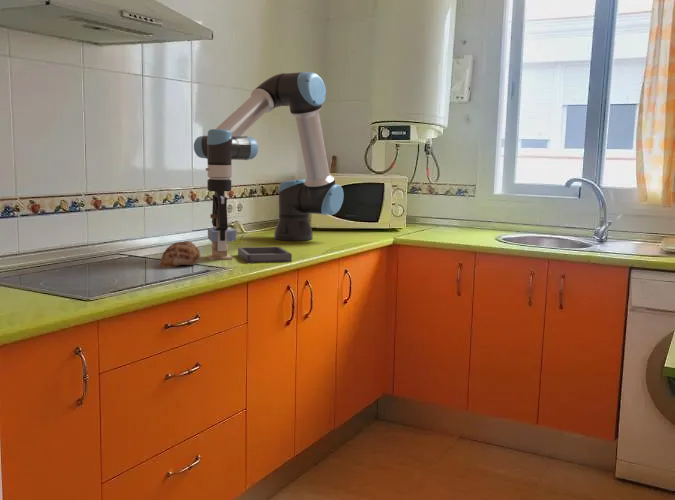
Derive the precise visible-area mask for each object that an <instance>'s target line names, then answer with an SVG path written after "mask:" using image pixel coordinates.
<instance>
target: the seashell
mask: <svg viewBox="0 0 675 500" xmlns="http://www.w3.org/2000/svg"><path fill="white" fill-rule="evenodd" d="M200 259H201V252H200V249H199V248H198V247H197V246H196V245H195V244H194V243H193V242H192V241H189V240H188V241H187V240H185V241H179V242H178V241H177V242H175V243H173V244H171V245H169V246H168V247H167V248H166V249H165V250H164V252H163V254H162V256H161V260H160V261H161V262H160V263H159V266H160V267H165V268H175V267H178V266H181V265H183V266H184V265H186V266H194V265H196V264H198V263H199V261H200Z"/></svg>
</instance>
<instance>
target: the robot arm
mask: <svg viewBox="0 0 675 500" xmlns="http://www.w3.org/2000/svg"><path fill="white" fill-rule="evenodd" d="M250 94H251V95H250V97H249V98H248V99H247V100H245V101H244V102H243V103H242V104H241V105H240V106H239V107H237V109H236V110H235V111H233V112H232V113H231V114H230V115H228V117H227V118H225V120H224V121H222V122H221V123H220V124H219V125H218V126H217V127H216V128H212V129H208V131H207V135H202V136H198V137H197V138H195V140H194V142H193V150H194V153H195V155H196V156H197V157H198V158H201V159H207V167H205V171H206V172H207V178H208V179H207V182H206V183H207V191H208V192H214V194H212V197H211V198H212V210H211V211H212V212H211V214H217V218H218V228H216V218H211V224H212V228H216V231H217V230H218V251H227V252H228V242H227V229H229V226H228V205H227V204H228V203H227V202H228V201H227V200H228V198H227V196H226V195H225V192H231V191H232V175H233V171H232V169H233V168H232V160H233V161H234V160H237V161H238V160H239V161H240V160H241V161H248V160H249V161H250V160H253V159H254V158H255V157H257V155H258V152H259V145H258V142H257V140H256V139H255V138H254V137H252V136H247V135H246V136H245V135H244V136H242V135H243V134H244V133H246V131H247V130H249V128H251V127H252V126H253V125H254V124H255V123H256V122H257V121H258V120H259V119H261V118H262V116H264V114H265V113H270V112H272V111H273V110H274V109H275V108H278V107H279V108H280V107H289V112H290V115H292V116H294V117H295V121H296V125H297V126H296V127H297V130H298V131H297V132H298V135H299V142H300V145H301V146H300V147H301V151H302V157H303V162H304V167H305V172H306V179H294V180H284V181H282V182H280V184H279V189H278V190H279V191H278V222H277V224H276V228H275V230H274V234H273V235H274V237H273V238H274V239H275V240H278V241H296V242H297V241H299V242H300V241H301V242H302V241H309V240H310V241H311V240H313V235H314V234H313V231H312V227H311V224H310V219H309V214H312V215H313V214H314V215H322V216H328V215H333V216H334V215H336V214H337V213H338V212H339V211H340V209H341V208H342V205H343V203H344V198H345V197H344V195H345V194H344V189H343V187H342V186H341V185H340V184H338V183H336V179H335V177H334V176H333V175H332V174H330V173H331V172H330V168H329V163H328V157H327V152H326V146H325V141H324V135H323V127H322V124H321V117H320V111H321V110H322V109H323V106H322V105H323V103H324V102H325V101H326V96H327V88H326V85H325V82H324V81H323V78H322V77H321V76H319V75H318V74H317V73H316V72H307V71H301V72H290V73H289V72H288V73H286V72H285V73H284V72H283V73H282V72H281V73H279V74H275V75H273V76H270V77H269V78H268V79H266V80H264V81H263V82H262V83H260V84H258V86H257V87H255V88H254V89H253V90H252V91H251V93H250Z"/></svg>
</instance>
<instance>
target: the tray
mask: <svg viewBox="0 0 675 500" xmlns="http://www.w3.org/2000/svg"><path fill="white" fill-rule="evenodd" d="M292 254H293V253H291V252H290V251H288V250H285V249H284V248H282V247H281V246H257V247H256V246H253V247H250V246H249V247H244V246H243V247H237V255H238V257H240V259H241V260H243V261H244V262H246V263H247V264H258V263H257V262H265V263H288V262H289V263H291V262H292V256H293V255H292Z"/></svg>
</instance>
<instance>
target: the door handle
mask: <svg viewBox="0 0 675 500" xmlns="http://www.w3.org/2000/svg"><path fill="white" fill-rule="evenodd" d="M212 218H216V228H218V218H217V214H212V213H210V219H212ZM217 231H218V230H217ZM206 257H207V259H208V260H209V261H227V260H228V261H229V260H230V261H232V260H233V256H232V255H230V254H229V253H228V250H227V251H218V242H212V241H211V253H210V254H207V256H206Z"/></svg>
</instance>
